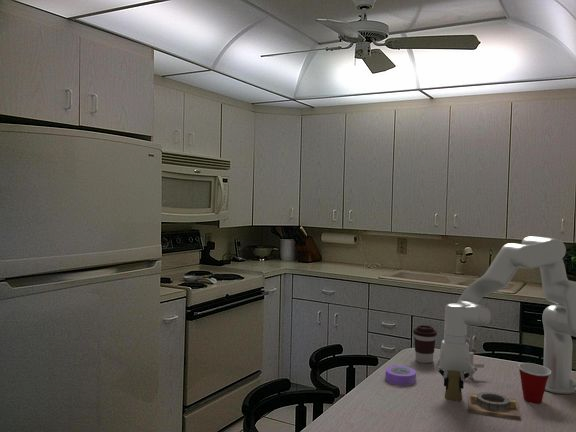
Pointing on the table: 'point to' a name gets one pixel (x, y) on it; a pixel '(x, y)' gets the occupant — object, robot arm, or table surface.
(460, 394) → the olive knobbed peg
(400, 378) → the masking tape
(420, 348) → the coffee cup
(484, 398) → the socket
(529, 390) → the plastic cup
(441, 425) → the table surface
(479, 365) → the pipe connector
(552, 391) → the robot arm
